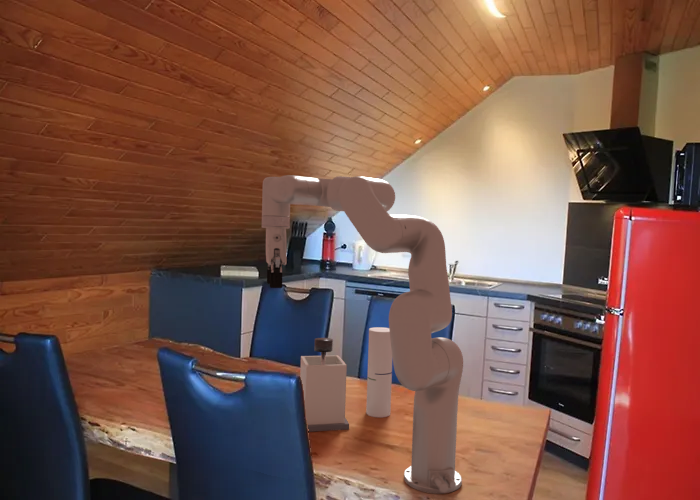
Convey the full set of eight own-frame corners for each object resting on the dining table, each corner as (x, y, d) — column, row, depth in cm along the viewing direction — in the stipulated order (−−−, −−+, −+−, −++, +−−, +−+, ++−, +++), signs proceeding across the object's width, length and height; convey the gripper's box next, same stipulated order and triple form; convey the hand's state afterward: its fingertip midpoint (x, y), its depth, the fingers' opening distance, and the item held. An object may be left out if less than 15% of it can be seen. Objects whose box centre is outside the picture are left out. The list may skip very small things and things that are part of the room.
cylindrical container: (388, 418, 163) (391, 332, 161) (364, 416, 164) (367, 330, 163) (391, 410, 170) (394, 328, 168) (368, 408, 171) (371, 326, 170)
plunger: (339, 420, 155) (342, 342, 154) (308, 421, 153) (310, 343, 152) (333, 409, 163) (335, 336, 162) (304, 411, 161) (306, 336, 160)
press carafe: (349, 429, 153) (351, 365, 152) (301, 431, 150) (303, 367, 149) (339, 413, 166) (341, 354, 165) (295, 415, 163) (296, 355, 162)
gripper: (293, 223, 145) (291, 289, 146) (286, 223, 162) (284, 282, 163) (264, 222, 144) (262, 289, 145) (259, 222, 161) (258, 282, 161)
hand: (274, 285), depth 154 cm, fingers open, 9 cm apart
